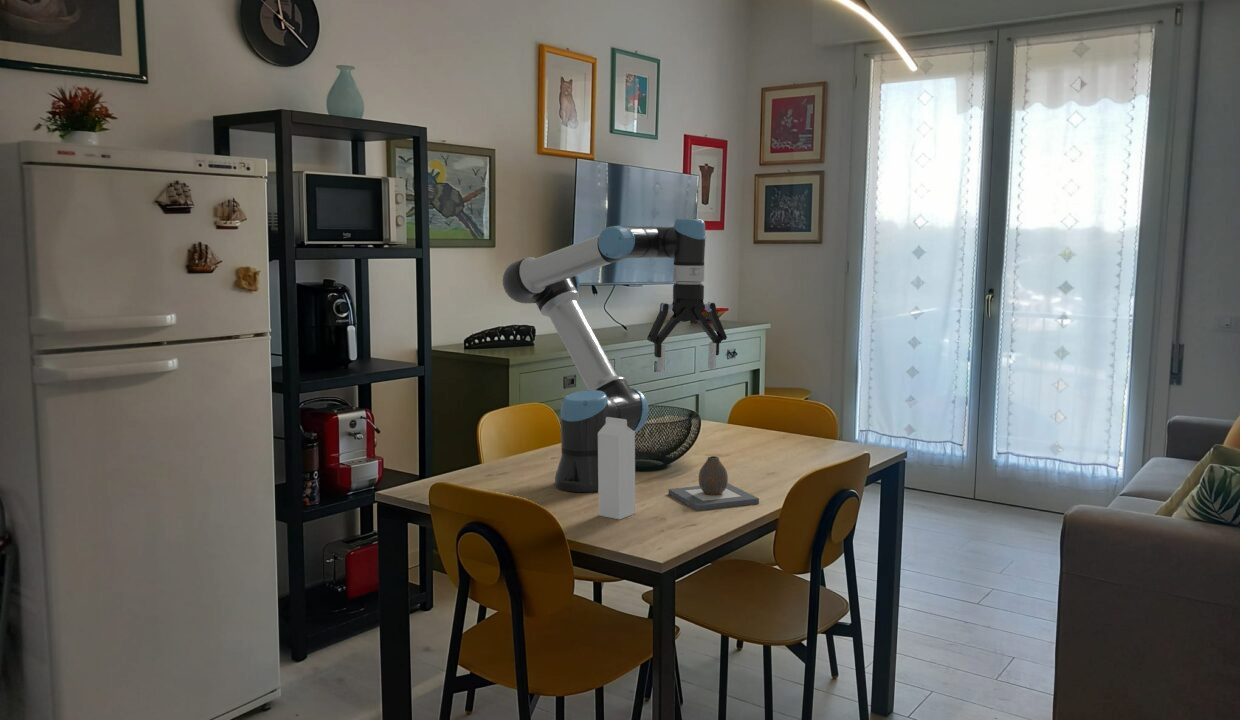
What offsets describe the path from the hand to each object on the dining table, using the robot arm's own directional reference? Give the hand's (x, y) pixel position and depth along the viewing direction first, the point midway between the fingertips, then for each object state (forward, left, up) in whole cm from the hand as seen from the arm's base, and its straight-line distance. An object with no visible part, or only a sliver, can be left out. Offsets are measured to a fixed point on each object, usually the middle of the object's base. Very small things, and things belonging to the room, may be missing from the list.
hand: (686, 369), depth 231 cm
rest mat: (+2, -11, -30) cm, 32 cm away
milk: (-24, -15, -30) cm, 42 cm away
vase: (+2, -11, -29) cm, 31 cm away
